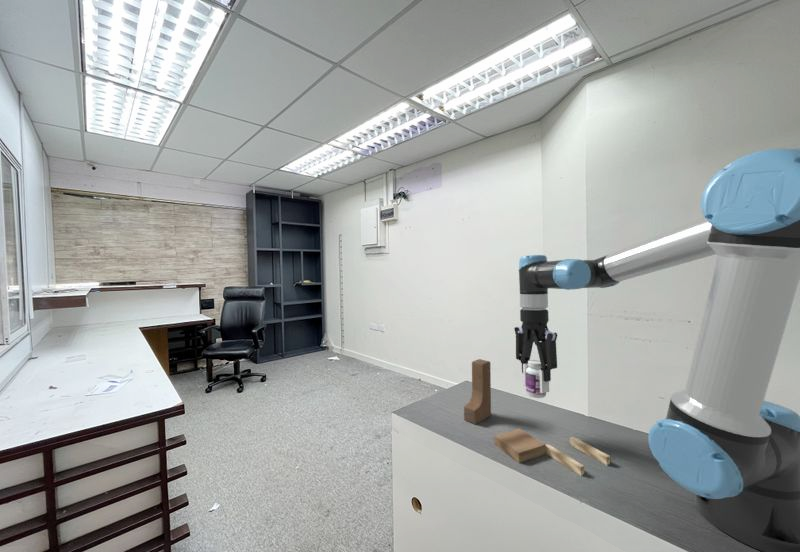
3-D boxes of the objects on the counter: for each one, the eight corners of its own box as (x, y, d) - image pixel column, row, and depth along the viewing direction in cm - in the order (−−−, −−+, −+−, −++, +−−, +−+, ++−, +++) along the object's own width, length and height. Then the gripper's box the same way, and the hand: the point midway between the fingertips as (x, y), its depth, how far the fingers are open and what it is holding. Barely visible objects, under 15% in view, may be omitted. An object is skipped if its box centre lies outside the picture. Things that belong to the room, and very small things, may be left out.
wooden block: (475, 425, 95) (474, 367, 95) (463, 419, 98) (462, 364, 98) (491, 415, 101) (490, 361, 101) (479, 411, 104) (479, 358, 104)
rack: (609, 464, 75) (609, 456, 75) (580, 475, 71) (580, 467, 71) (572, 443, 84) (572, 436, 84) (544, 452, 80) (544, 445, 80)
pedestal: (545, 454, 79) (545, 444, 79) (519, 463, 76) (519, 453, 76) (519, 437, 88) (519, 428, 88) (494, 444, 84) (494, 435, 84)
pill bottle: (539, 400, 85) (538, 365, 85) (522, 394, 89) (521, 361, 90) (550, 395, 88) (549, 362, 88) (533, 390, 92) (532, 358, 93)
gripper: (571, 310, 82) (574, 397, 82) (519, 305, 99) (521, 377, 99) (551, 312, 79) (553, 402, 79) (501, 306, 96) (503, 381, 96)
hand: (536, 388), depth 89 cm, fingers closed on pill bottle, 5 cm apart
